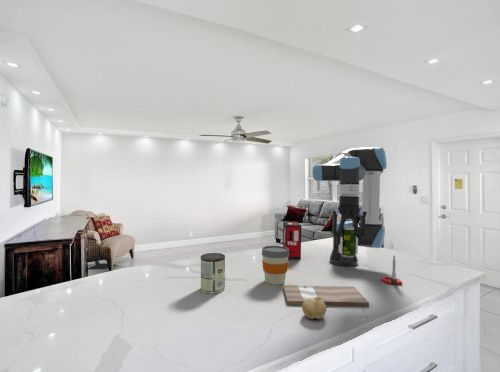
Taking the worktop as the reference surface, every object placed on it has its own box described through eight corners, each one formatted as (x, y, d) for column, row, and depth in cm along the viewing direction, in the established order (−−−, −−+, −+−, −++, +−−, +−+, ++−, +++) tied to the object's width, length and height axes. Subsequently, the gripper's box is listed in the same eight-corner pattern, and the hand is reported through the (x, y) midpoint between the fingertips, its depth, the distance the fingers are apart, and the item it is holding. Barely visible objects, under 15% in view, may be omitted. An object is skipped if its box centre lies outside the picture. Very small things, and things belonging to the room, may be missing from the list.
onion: (321, 325, 93) (321, 303, 93) (298, 318, 97) (298, 297, 97) (328, 315, 100) (329, 294, 99) (306, 309, 104) (307, 290, 104)
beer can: (344, 253, 121) (344, 225, 121) (357, 256, 117) (357, 226, 117) (338, 256, 117) (339, 226, 117) (351, 258, 113) (352, 227, 113)
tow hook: (378, 278, 140) (384, 284, 130) (379, 251, 140) (384, 255, 131) (397, 279, 138) (404, 285, 129) (397, 252, 139) (404, 256, 130)
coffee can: (207, 283, 129) (207, 251, 128) (228, 286, 125) (229, 254, 125) (195, 291, 119) (195, 257, 119) (218, 295, 116) (218, 260, 115)
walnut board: (283, 288, 123) (283, 284, 123) (354, 290, 123) (354, 286, 123) (287, 304, 108) (287, 300, 107) (368, 306, 107) (369, 301, 107)
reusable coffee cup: (292, 279, 136) (292, 247, 135) (283, 288, 124) (284, 253, 124) (267, 275, 141) (267, 244, 141) (256, 283, 130) (257, 249, 129)
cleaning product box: (282, 252, 187) (283, 221, 186) (296, 252, 186) (297, 221, 186) (285, 259, 170) (286, 225, 170) (300, 259, 170) (301, 225, 170)
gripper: (328, 195, 114) (327, 254, 114) (376, 196, 113) (374, 255, 113) (324, 194, 121) (323, 250, 121) (369, 195, 120) (367, 251, 120)
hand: (348, 252), depth 117 cm, fingers closed on beer can, 5 cm apart
